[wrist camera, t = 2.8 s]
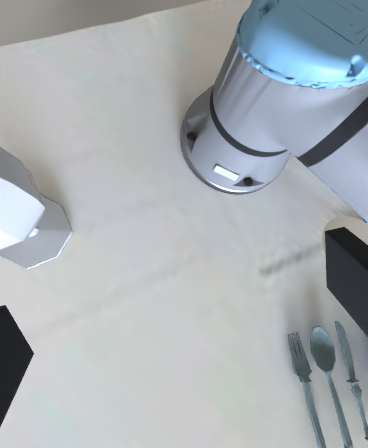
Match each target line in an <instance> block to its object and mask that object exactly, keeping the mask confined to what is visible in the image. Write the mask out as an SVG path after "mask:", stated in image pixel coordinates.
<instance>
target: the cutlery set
mask: <svg viewBox="0 0 368 448" xmlns="http://www.w3.org/2000/svg"><path fill="white" fill-rule="evenodd" d="M335 325H336V328H337V332H338V336H339V340H340V343H341V347H342V351H343V354H344V358H345V362H346V366H347V369H348V373H349V377H350V380H348V382H349V383H350V384H351V386H352V389H351V391H352V393H353V395H354V397H355V398H356V400H357V403H358V407H359V411H360V414H361V417H362V420H363V425H364V430H365V434H366V437H365V439H366V440H368V426H367V422H366V419H365V413H364V408H363V405H362V401H361V395H362V390H361V389H360V387H359V386H358V382H359V380H356V379H355V372H354V366H353V360H352V356H351V352H350V349H349V345H348V341H347V338H346V334H345V331H344V329H343V327H342V326H341V324H340V323H339V322H337V321H335ZM296 336H297V342H298V346H297V342H296V339H295V335H294V333H292V339H293V344H294V347H293V344H292V341H291V337H290V334H289V335H288V342H289V346H290V351H291V356H292V363H293V369H294V373H295V375H297V376H299V378H300V381H301V382H302V383H303V386H304V391H305V396H306V401H307V406H308V410H309V414H310V418H311V421H312V425H313V429H314V432H315V436H316V440H317V444H318V448H326V446H325V442H324V438H323V434H322V431H321V428H320V425H319V421H318V417H317V414H316V410H315V406H314V402H313V397H312V392H311V388H310V384H309V382H311V380H310V378H309V377H308V376H309V375H310V373H311V372H312V371H311V369H310V366H309V364H308V361H307V358H306V355H305V352H304V350H303V347H302V344H301V341H300V337H299V333H298V332H296ZM310 345H311V354H312V356H313V358H314V361H315V363H316V365H317V366H318V367H319V368H320V369H321V370H323V371H324V372H325V373H326V375H327V379H328V382H329V386H330V389H331V393H332V397H333V400H334V404H335V407H336V412H337V416H338V420H339V424H340V428H341V433H342V438H343V442H344V447H345V448H354V447H353V445H352V440H351V437H350V434H349V431H348V427H347V424H346V421H345V417H344V414H343V411H342V407H341V405H340V402H339V399H338V396H337V393H336V390H335V387H334V384H333V381H332V378H331V375H330V374H331V372H332V370H333V367H334V364H335V361H336V359H335V349H334V345H333V342H332V340H331V338H330V336H329V334H328V333H327V332H326V331H325V330H324V329H323V328H322V327H321V326H318V327H314V328H313V331H312V334H311V338H310ZM298 347H299V349H298ZM294 349H295V350H294Z"/></svg>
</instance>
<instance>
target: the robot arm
mask: <svg viewBox="0 0 368 448" xmlns="http://www.w3.org/2000/svg"><path fill="white" fill-rule="evenodd" d="M180 140H181V148H182V152H183V155H184V158H185V160H186V162H187V164H188V166H189V167H190V169H191V170H192V171H193V173H194V174H195V175H196V176H197V177H198V178H199V179H200V180H201V181H203V182H204V183H205V184H207V185H208V186H210V187H212V188H214V189H216V190H218V191H221V192H225V193H229V194H247V193H252V192H255V191H257V190H259V189H262V188H263V187H265V186H266V185H268V184H269V183H270V182H272V181H273V180H274V179H275V178H276V177H277V176H278V175H279V174H280V172H281V171H282V170H283V168H284V167H285V165H286V163H287V160H288V158H289V156H290V153H291V154H292V155H293V156H295V157H296V158H297V159H298V160H299V161H300V162H302V163H303V164H304V165H305V166H306V167H307V168H308V169H309V170H310V171H311V172H312V173H313V174H315V175H316V176H317V177H318V178H319V179H320V180H321V181H322V182H323V183H325V184H326V185H327V186H328V187H329V188H330V189H331V190H332V191H333V192H334V193H336V194H337V195H338V196H339V197H340V198H341V199H342V200H343V201H344V202H346V203H347V204H348V205H349V206H350V207H351V208H352V209H353V210H354V211H356V212H357V213H358V214H359V215H360V217H361V218H362V219H363V221H364V222H365V223H367V224H368V0H253V1H252V3H251V5H250V6H249V8H248V9H247V11H246V12H245V13H244V14H243V16H242V18H241V20H240V22H239V24H238V27H237V31H236V35H235V38H234V40H233V42H232V44H231V47H230V49H229V51H228V54H227V56H226V58H225V61H224V63H223V65H222V68H221V70H220V72H219V75H218V77H217V79H216V81H215V84H214V85H213V86H211V87H210V88H209V89H208V90H206V91H205V92H204V93H203V94H201V95H200V96H199V97H198V98H197V99H196V100H195V101H194V102H193V104H192V105H191V106H190V108H189V109H188V111H187V113H186V116H185V118H184V121H183V124H182V128H181V138H180ZM325 242H326V275H327V288H328V289H329V290H330V291H331V293H332V294H333V295H334V296H335V298H336V299H337V300H338V301H339V302H340V304H341V305H342V306H343V307H344V309H345V310H346V311H347V312H348V313H349V315H350V316H351V317H352V318H353V320H354V321H355V322H356V323H357V324H358V326H359V327H360V328H361V329H362V330H363V332H364V333H365V334H366V335H367V337H368V245H367V244H366V243H364V242H363V241H362V240H360V239H359V238H358V237H357V236H355V235H354V234H353V233H351V232H350V231H349V230H348V229H346V228H345V227H341V228H337V229H333V230H328V231H325ZM33 354H34V353H33V351H32V349H31V348H30V346H29V344H28V342H27V341H26V339H25V337H24V336H23V334H22V332H21V331H20V329H19V327H18V326H17V324H16V322H15V321H14V319H13V317H12V315H11V314H10V312H9V310H8V309H7V307H6V305H4V306H0V426H1V424H2V422H3V420H4V418H5V416H6V413H7V411H8V409H9V407H10V405H11V402H12V400H13V398H14V396H15V394H16V392H17V389H18V387H19V385H20V383H21V381H22V378H23V376H24V374H25V372H26V370H27V368H28V365H29V363H30V361H31V359H32V357H33Z"/></svg>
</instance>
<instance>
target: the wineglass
mask: <svg viewBox="0 0 368 448" xmlns="http://www.w3.org/2000/svg"><path fill="white" fill-rule="evenodd" d="M72 233H73V231H72V228H71V226H70V223H69V221H68V219H67V216H66V214H65V211H64V209H63V206H61V205H59V204H57V203H55V202H54V201H52V200H50V199H48V198H46V197H44V196H43V195H41V194H39V192H38V189H37V187H36V185H35V182H34V180H33V177H32V175H31V172H30V171H29V170H28V169H27V168H26V167H25V165H24V164H23V163H22V162H21V161H20V160H19V159H18V158H16V157H15V156H13V155H12V154H10V153H9V152H7V151H6V150H4V149H3V148H1V147H0V256H2V257H4V258H6V259H8V260H10V261H12V262H14V263H16V264H18V265H19V266H21V267H23V268H25V269H27V270H28V269H30V268H32V267H35V266H37V265H40V264H42V263H45V262H47V261H50V260H52V259H54V258H57V257H58V255H59V254H60V252H61V250H62V249H63V247H64V246H65V244H66V243H67V241H68V239H69V238H70V236H71V235H72Z"/></svg>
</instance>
